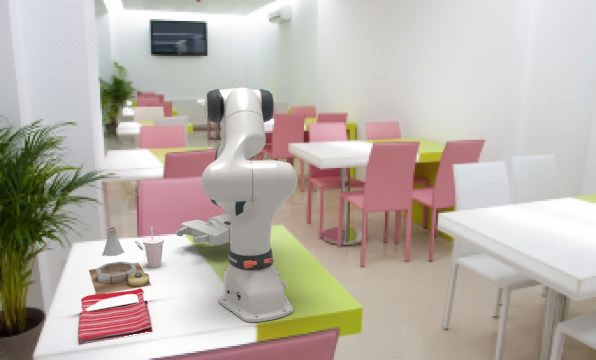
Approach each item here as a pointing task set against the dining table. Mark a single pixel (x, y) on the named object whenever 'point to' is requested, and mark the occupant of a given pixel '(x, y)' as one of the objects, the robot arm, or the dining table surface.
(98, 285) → the carrier board
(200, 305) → the dining table surface
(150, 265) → the smoothie
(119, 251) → the flask
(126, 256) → the dining table surface
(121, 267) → the socket ring
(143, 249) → the fork
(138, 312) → the dish towel
